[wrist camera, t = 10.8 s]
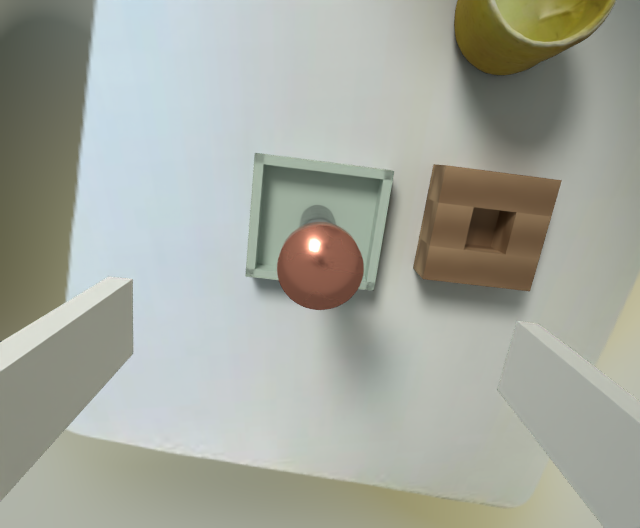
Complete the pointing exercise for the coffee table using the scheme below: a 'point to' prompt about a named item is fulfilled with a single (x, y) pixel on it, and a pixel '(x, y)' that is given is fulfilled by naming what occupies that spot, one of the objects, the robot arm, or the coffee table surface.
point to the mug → (523, 30)
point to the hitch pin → (320, 262)
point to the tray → (315, 189)
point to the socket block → (484, 227)
